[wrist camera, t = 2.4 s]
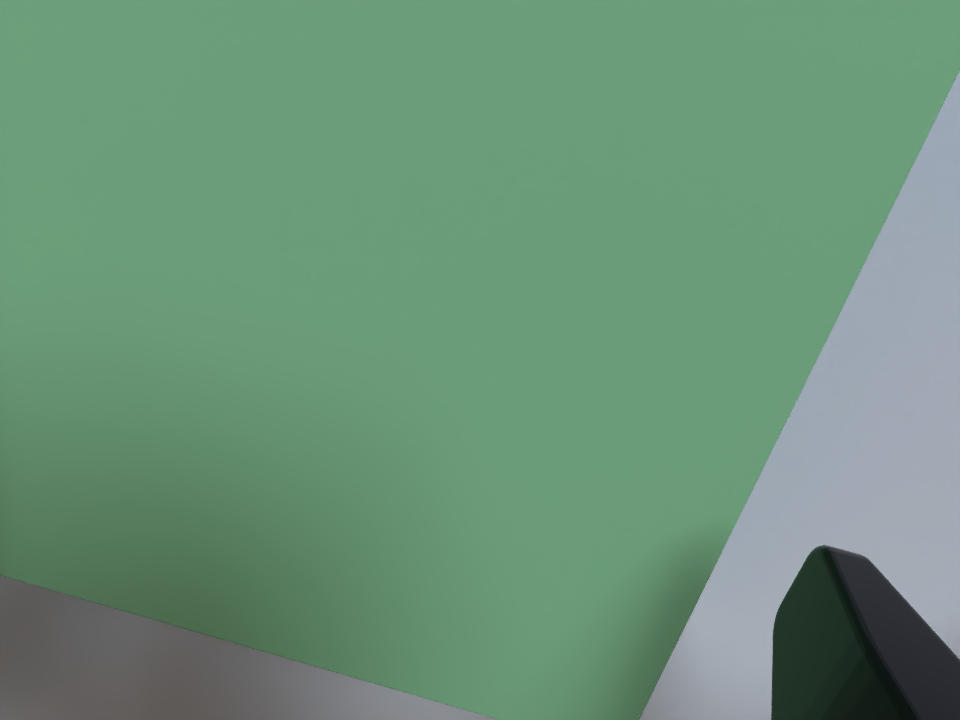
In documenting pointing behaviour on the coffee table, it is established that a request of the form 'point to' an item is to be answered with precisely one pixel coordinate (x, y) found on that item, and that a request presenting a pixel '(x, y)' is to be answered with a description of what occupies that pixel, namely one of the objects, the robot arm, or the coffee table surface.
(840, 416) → the coffee table surface
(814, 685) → the robot arm
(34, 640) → the coffee table surface
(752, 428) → the putting mat
